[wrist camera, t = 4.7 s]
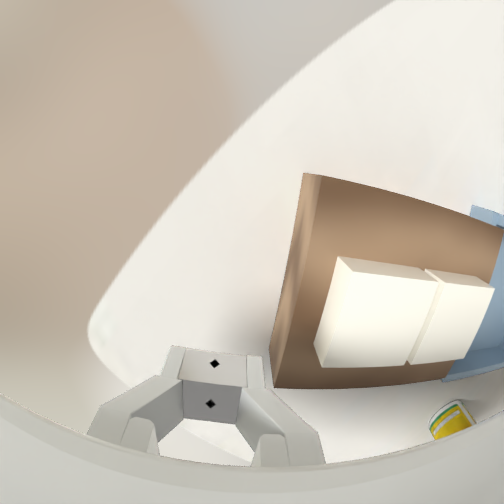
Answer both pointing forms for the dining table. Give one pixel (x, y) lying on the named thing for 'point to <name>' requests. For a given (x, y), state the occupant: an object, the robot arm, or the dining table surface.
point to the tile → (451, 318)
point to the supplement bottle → (450, 420)
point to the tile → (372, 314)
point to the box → (486, 318)
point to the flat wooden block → (373, 249)
